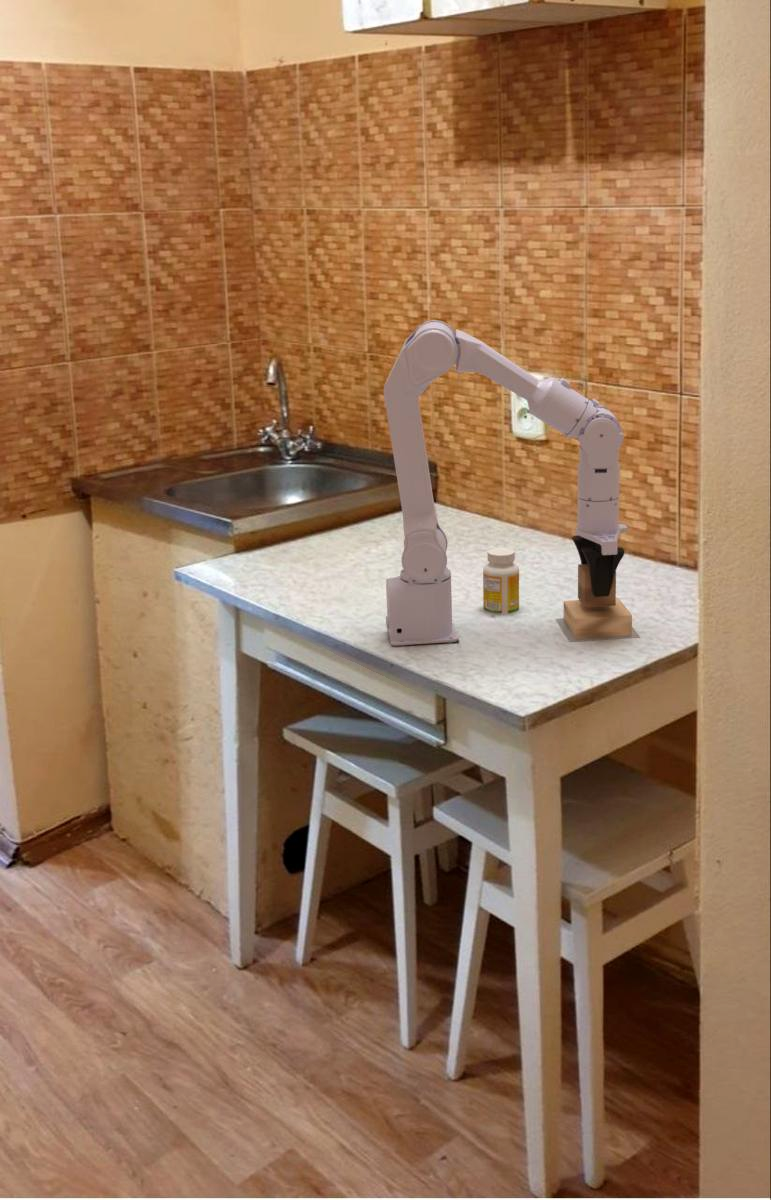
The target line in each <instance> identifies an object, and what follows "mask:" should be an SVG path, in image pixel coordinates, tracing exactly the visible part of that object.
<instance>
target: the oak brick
mask: <svg viewBox="0 0 771 1200" xmlns="http://www.w3.org/2000/svg"><path fill="white" fill-rule="evenodd" d="M563 618H564V622H565V624H566V625H567V627H568V628H569V630H570V632H571V633H572V635H573V636H574V638H575V639H583V638H599V637H615V636H631V635H632V627H633V615H632V613H631V611H629V609H628V608H627V607H626V605H624V603H623V602H622V600H621V599H620V598H619V597H616V606H601V607H584V606H583V605H582V603H581V602H580V600H579V599H574V600H563Z"/></svg>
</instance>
